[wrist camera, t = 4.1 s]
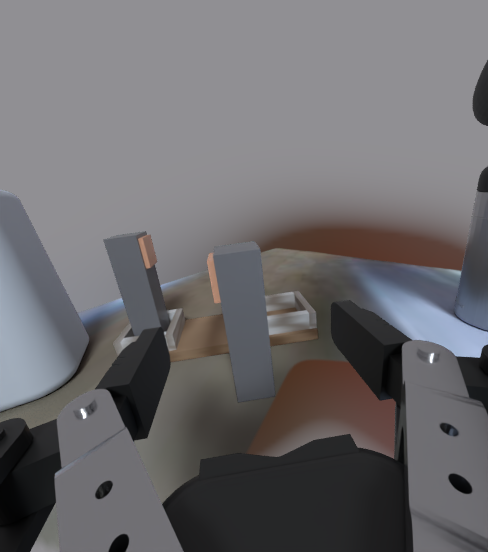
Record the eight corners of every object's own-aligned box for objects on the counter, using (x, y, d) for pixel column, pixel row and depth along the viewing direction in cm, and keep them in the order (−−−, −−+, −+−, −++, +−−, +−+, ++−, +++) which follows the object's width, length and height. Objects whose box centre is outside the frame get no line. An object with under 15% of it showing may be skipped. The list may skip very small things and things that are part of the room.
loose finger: (268, 369, 28) (254, 241, 23) (275, 396, 24) (260, 248, 19) (231, 375, 28) (208, 247, 23) (232, 403, 24) (205, 256, 19)
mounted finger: (175, 328, 37) (150, 230, 32) (169, 342, 34) (140, 234, 29) (146, 332, 37) (117, 235, 32) (138, 347, 33) (103, 239, 28)
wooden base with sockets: (298, 310, 41) (297, 289, 40) (318, 338, 33) (317, 313, 31) (142, 334, 40) (135, 314, 39) (120, 370, 32) (111, 345, 30)
